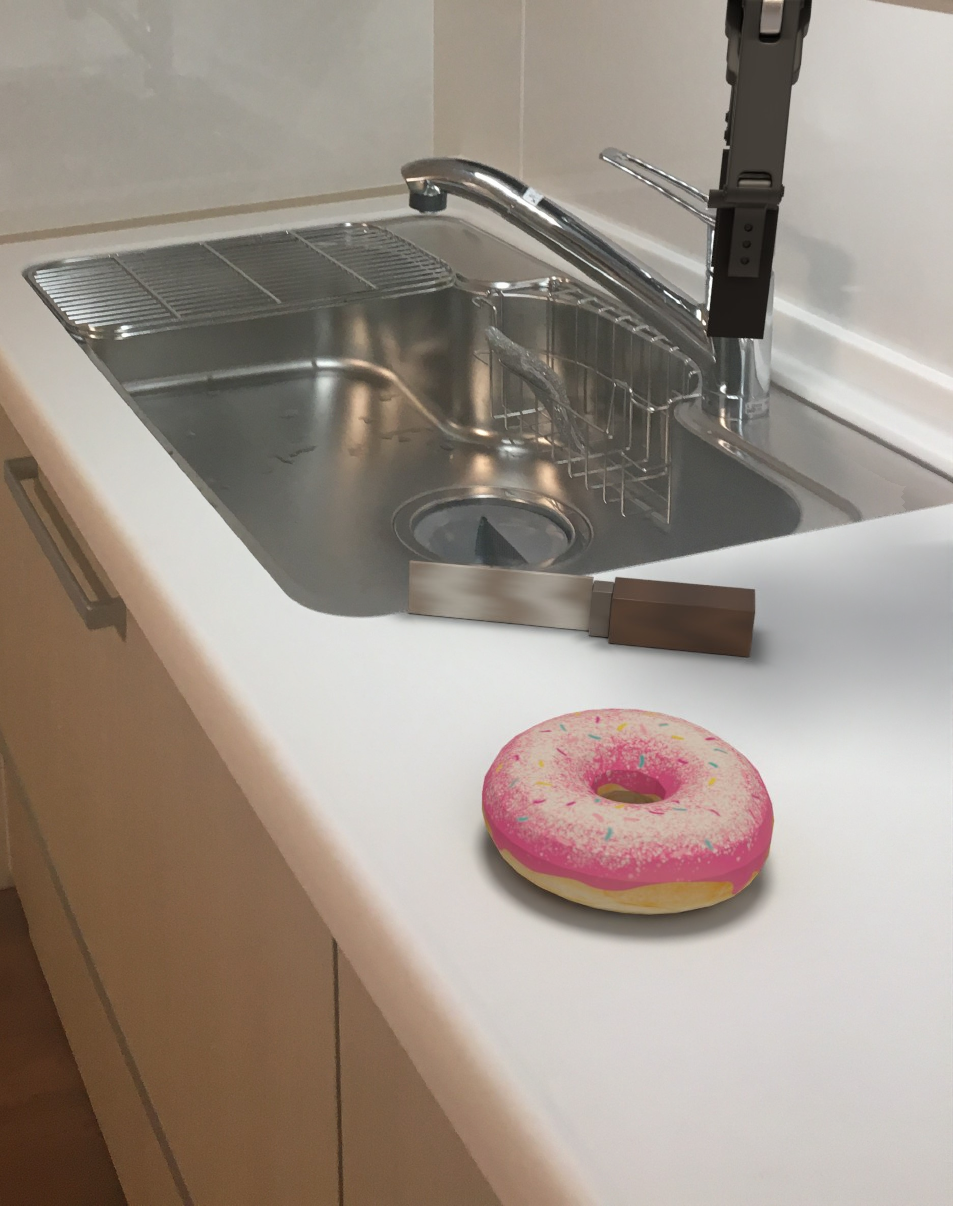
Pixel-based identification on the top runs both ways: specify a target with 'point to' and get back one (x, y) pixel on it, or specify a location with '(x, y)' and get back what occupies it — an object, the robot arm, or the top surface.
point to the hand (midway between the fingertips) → (735, 299)
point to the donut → (628, 811)
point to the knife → (591, 605)
